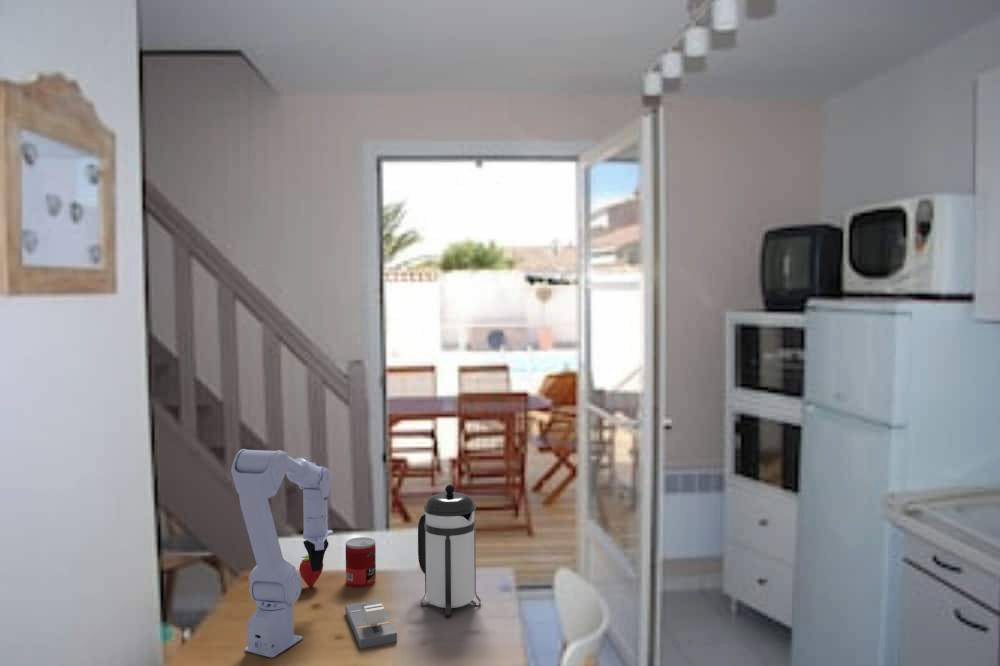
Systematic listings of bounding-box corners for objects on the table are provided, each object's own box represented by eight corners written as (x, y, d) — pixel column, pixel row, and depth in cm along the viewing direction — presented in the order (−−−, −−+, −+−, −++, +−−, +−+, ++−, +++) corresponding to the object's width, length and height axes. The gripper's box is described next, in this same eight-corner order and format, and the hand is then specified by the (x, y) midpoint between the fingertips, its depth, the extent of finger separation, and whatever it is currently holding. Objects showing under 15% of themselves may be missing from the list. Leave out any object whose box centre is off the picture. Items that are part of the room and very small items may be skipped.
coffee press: (484, 592, 175) (484, 477, 174) (476, 619, 159) (475, 493, 158) (419, 590, 177) (418, 476, 176) (404, 617, 161) (403, 491, 160)
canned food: (372, 587, 178) (372, 546, 178) (342, 587, 179) (342, 546, 178) (378, 576, 186) (378, 537, 186) (349, 576, 186) (349, 537, 186)
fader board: (397, 641, 148) (396, 632, 148) (360, 648, 145) (360, 639, 145) (378, 607, 166) (378, 599, 166) (345, 613, 163) (345, 604, 163)
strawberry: (327, 581, 183) (327, 545, 182) (316, 593, 175) (316, 554, 175) (306, 580, 183) (306, 544, 183) (295, 592, 176) (294, 554, 176)
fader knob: (384, 626, 151) (384, 608, 151) (366, 629, 149) (366, 611, 149) (381, 620, 154) (381, 602, 154) (363, 623, 152) (363, 605, 152)
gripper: (336, 521, 160) (337, 578, 161) (327, 505, 174) (328, 558, 174) (306, 525, 158) (306, 582, 158) (299, 508, 171) (300, 562, 171)
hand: (316, 570), depth 166 cm, fingers closed
